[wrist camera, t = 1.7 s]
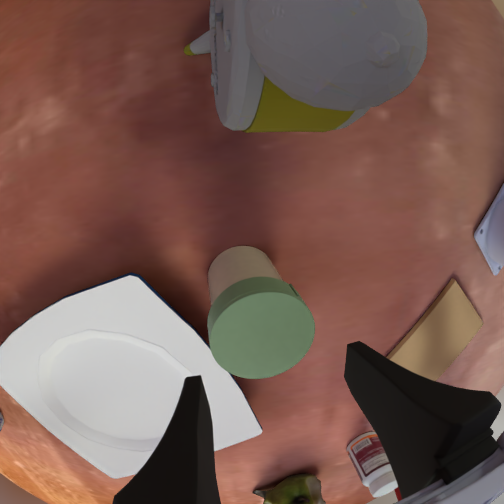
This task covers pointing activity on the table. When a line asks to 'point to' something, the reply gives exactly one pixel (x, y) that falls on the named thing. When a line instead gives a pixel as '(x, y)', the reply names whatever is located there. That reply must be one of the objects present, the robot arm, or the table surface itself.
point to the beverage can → (1, 421)
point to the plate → (117, 374)
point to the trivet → (438, 334)
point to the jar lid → (259, 328)
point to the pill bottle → (372, 464)
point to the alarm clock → (309, 60)
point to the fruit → (294, 491)
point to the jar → (238, 268)
